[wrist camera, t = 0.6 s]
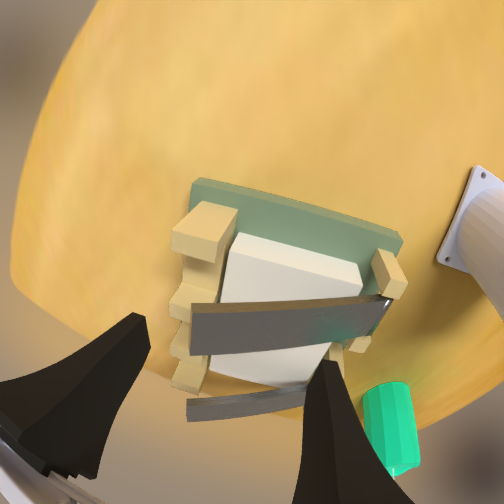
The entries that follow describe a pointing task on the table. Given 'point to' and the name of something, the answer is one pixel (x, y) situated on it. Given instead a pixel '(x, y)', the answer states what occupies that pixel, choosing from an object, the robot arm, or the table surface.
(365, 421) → the candle
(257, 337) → the strap near
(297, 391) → the strap far
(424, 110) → the table surface
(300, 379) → the board
